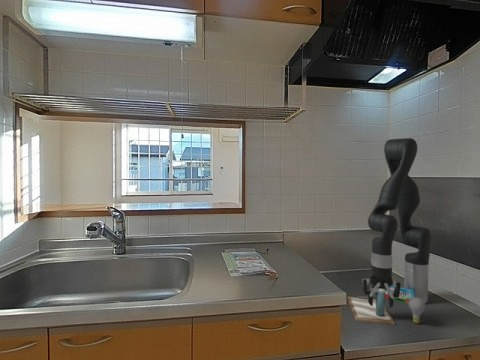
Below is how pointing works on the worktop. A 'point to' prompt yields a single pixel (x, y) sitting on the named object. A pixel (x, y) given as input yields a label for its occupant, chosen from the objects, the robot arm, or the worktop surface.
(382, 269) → the robot arm
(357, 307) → the clipboard
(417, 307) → the light bulb
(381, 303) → the bottle
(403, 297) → the yogurt
